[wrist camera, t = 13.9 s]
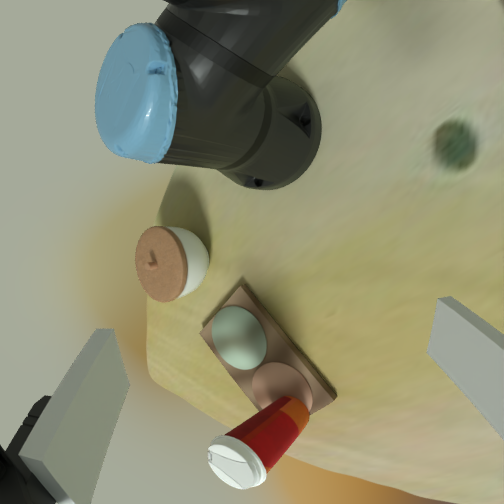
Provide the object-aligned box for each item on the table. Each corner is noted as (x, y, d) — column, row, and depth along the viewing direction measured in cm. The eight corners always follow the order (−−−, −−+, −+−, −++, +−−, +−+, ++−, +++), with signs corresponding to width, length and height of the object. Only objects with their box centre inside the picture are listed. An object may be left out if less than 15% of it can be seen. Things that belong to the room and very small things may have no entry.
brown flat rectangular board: (204, 331, 51) (197, 333, 49) (245, 284, 45) (238, 286, 44) (281, 429, 44) (276, 434, 43) (337, 396, 38) (333, 401, 37)
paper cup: (266, 422, 44) (203, 472, 32) (271, 381, 42) (202, 429, 31) (312, 441, 39) (256, 502, 28) (322, 400, 38) (262, 462, 27)
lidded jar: (164, 244, 54) (118, 249, 46) (202, 210, 48) (154, 211, 40) (188, 302, 52) (143, 315, 44) (232, 275, 46) (184, 287, 39)
